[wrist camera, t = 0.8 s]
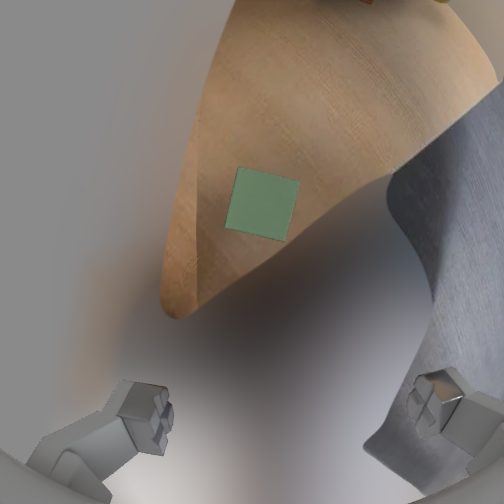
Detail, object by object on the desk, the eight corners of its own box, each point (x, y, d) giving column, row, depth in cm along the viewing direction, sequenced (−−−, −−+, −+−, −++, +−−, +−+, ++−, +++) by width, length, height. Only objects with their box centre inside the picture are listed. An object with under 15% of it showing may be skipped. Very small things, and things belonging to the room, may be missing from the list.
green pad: (241, 168, 20) (237, 166, 17) (294, 181, 20) (300, 181, 17) (228, 220, 21) (223, 227, 18) (280, 232, 21) (284, 242, 18)
